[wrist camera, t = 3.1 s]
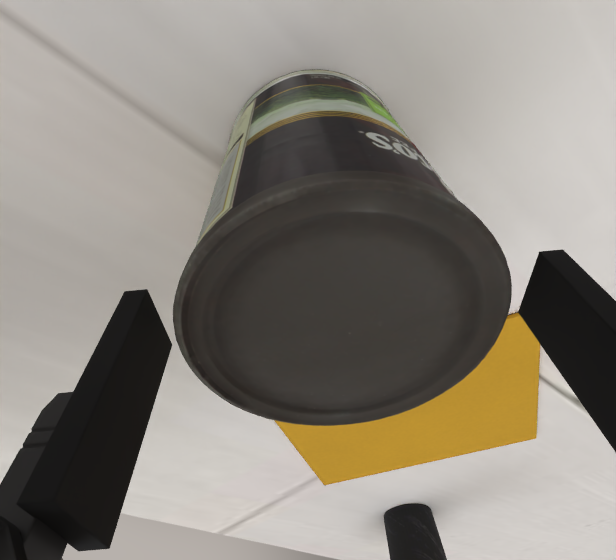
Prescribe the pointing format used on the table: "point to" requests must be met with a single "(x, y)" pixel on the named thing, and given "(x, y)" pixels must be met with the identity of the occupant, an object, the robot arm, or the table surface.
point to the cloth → (437, 418)
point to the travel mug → (413, 533)
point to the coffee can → (335, 264)
